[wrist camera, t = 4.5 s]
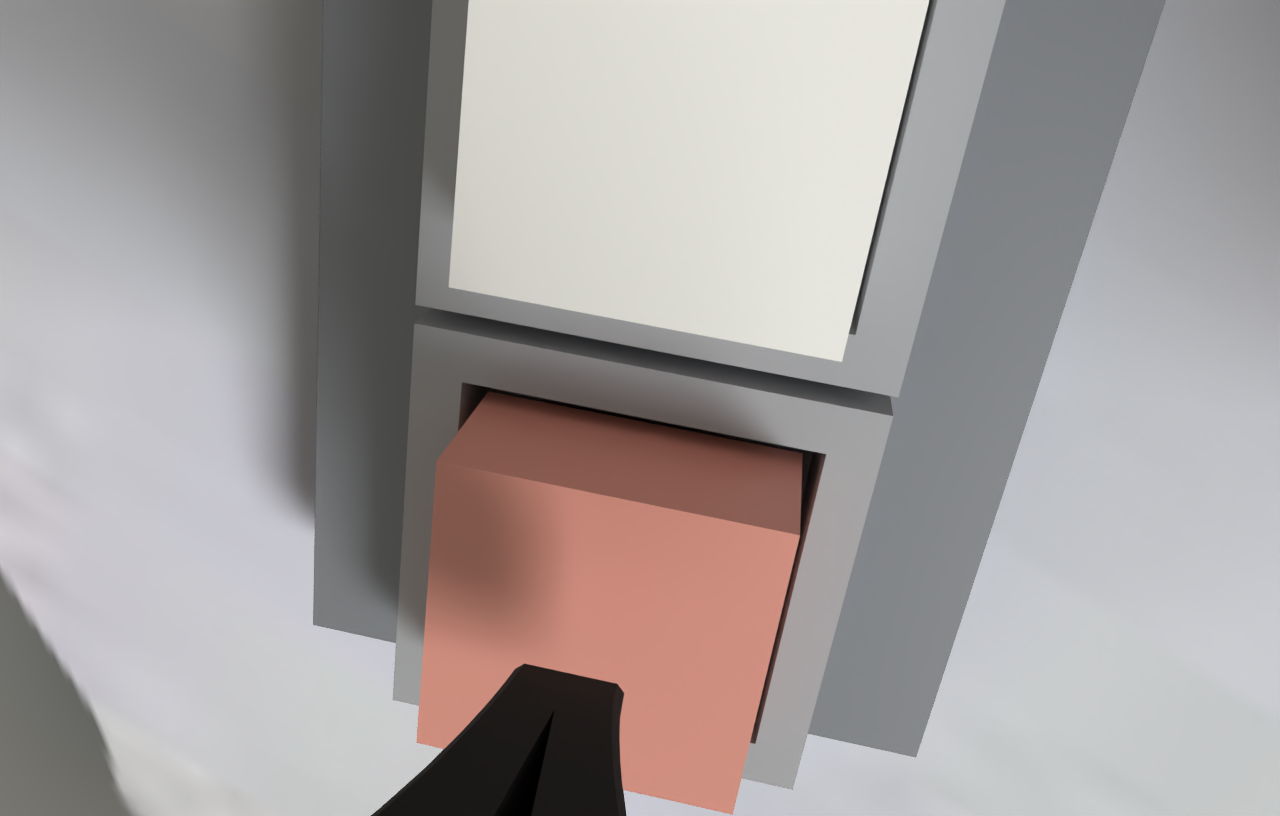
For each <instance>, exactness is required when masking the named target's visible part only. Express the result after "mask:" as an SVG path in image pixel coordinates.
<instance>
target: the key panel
mask: <svg viewBox="0 0 1280 816" xmlns="http://www.w3.org/2000/svg"><path fill="white" fill-rule="evenodd" d="M468 3H469V0H323V48H322V110H321V172H320V235H319V297H318V359H317V422H316V484H315V546H314V609H313V625H317V626H321V627H326V628H330V629H335V630H339V631H344V632H349V633H353V634H358V635H362V636H367V637H371V638H376V639H380V640H385V641H389V642H394V643H396V654H395V671H394V689H393V700H396V701H400V702H405V703H409V704H414V705H418V706H419V701H420V687H421V673H422V659H423V644H424V630H425V616H426V602H427V587H428V573H429V559H430V545H431V530H432V516H433V502H434V488H435V473H436V461H437V460H438V458H439V457H440V456H441V454H442V453H443V451H444V450H445V449H446V447H447V446H448V445H449V443H450V442H451V441H452V439H453V438H454V437H455V435H456V434H457V433H458V431H459V430H460V429H461V427H462V426H463V425H464V423H465V422H466V421H467V419H468V418H469V417H470V415H471V414H472V413H473V411H474V410H475V409H476V407H477V406H478V405H479V403H480V402H481V401H482V399H483V398H484V397H485V395H486V394H487V393H488V391H490V392H495V393H500V394H505V395H510V396H515V397H520V398H525V399H530V400H535V401H540V402H545V403H550V404H555V405H560V406H565V407H570V408H576V409H581V410H586V411H591V412H596V413H601V414H606V415H611V416H616V417H621V418H626V419H631V420H636V421H641V422H646V423H651V424H656V425H661V426H666V427H672V428H677V429H682V430H687V431H692V432H697V433H702V434H707V435H712V436H717V437H722V438H727V439H732V440H737V441H742V442H747V443H752V444H757V445H762V446H768V447H773V448H778V449H783V450H788V451H793V452H798V453H803V458H802V489H801V521H800V538H799V542H798V546H797V550H796V554H795V558H794V562H793V567H792V571H791V575H790V579H789V583H788V587H787V591H786V595H785V600H784V604H783V608H782V612H781V616H780V620H779V624H778V629H777V633H776V637H775V641H774V645H773V649H772V653H771V658H770V662H769V666H768V670H767V674H766V678H765V682H764V687H763V691H762V695H761V699H760V703H759V707H758V711H757V715H756V720H755V724H754V728H753V732H752V736H751V740H750V744H749V749H748V753H747V757H746V761H745V765H744V769H743V773H742V778H743V779H748V780H752V781H756V782H761V783H765V784H770V785H774V786H779V787H783V788H788V789H792V790H793V786H794V782H795V779H796V775H797V771H798V768H799V764H800V760H801V756H802V753H803V749H804V745H805V742H806V738H807V734H812V735H817V736H821V737H826V738H831V739H835V740H840V741H844V742H849V743H853V744H858V745H862V746H867V747H871V748H876V749H881V750H885V751H890V752H894V753H899V754H903V755H908V756H912V757H916V756H917V752H918V749H919V746H920V743H921V740H922V737H923V734H924V731H925V728H926V725H927V722H928V719H929V716H930V713H931V710H932V707H933V704H934V701H935V698H936V695H937V692H938V689H939V686H940V683H941V680H942V677H943V674H944V671H945V668H946V665H947V661H948V658H949V655H950V652H951V649H952V646H953V643H954V640H955V637H956V634H957V631H958V628H959V625H960V622H961V619H962V616H963V613H964V610H965V607H966V604H967V601H968V598H969V595H970V592H971V589H972V586H973V583H974V580H975V577H976V573H977V570H978V567H979V564H980V561H981V558H982V555H983V552H984V549H985V546H986V543H987V540H988V537H989V534H990V531H991V528H992V525H993V522H994V519H995V516H996V513H997V510H998V507H999V504H1000V501H1001V498H1002V495H1003V492H1004V489H1005V486H1006V482H1007V479H1008V476H1009V473H1010V470H1011V467H1012V464H1013V461H1014V458H1015V455H1016V452H1017V449H1018V446H1019V443H1020V440H1021V437H1022V434H1023V431H1024V428H1025V425H1026V422H1027V419H1028V416H1029V413H1030V410H1031V407H1032V404H1033V401H1034V398H1035V395H1036V391H1037V388H1038V385H1039V382H1040V379H1041V376H1042V373H1043V370H1044V367H1045V364H1046V361H1047V358H1048V355H1049V352H1050V349H1051V346H1052V343H1053V340H1054V337H1055V334H1056V331H1057V328H1058V325H1059V322H1060V319H1061V316H1062V313H1063V310H1064V307H1065V303H1066V300H1067V297H1068V294H1069V291H1070V288H1071V285H1072V282H1073V279H1074V276H1075V273H1076V270H1077V267H1078V264H1079V261H1080V258H1081V255H1082V252H1083V249H1084V246H1085V243H1086V240H1087V237H1088V234H1089V231H1090V228H1091V225H1092V222H1093V219H1094V216H1095V212H1096V209H1097V206H1098V203H1099V200H1100V197H1101V194H1102V191H1103V188H1104V185H1105V182H1106V179H1107V176H1108V173H1109V170H1110V167H1111V164H1112V161H1113V158H1114V155H1115V152H1116V149H1117V146H1118V143H1119V140H1120V137H1121V134H1122V131H1123V128H1124V125H1125V121H1126V118H1127V115H1128V112H1129V109H1130V106H1131V103H1132V100H1133V97H1134V94H1135V91H1136V88H1137V85H1138V82H1139V79H1140V76H1141V73H1142V70H1143V67H1144V64H1145V61H1146V58H1147V55H1148V52H1149V49H1150V46H1151V43H1152V40H1153V37H1154V33H1155V30H1156V27H1157V24H1158V21H1159V18H1160V15H1161V12H1162V9H1163V6H1164V3H1165V0H929V4H928V8H927V12H926V16H925V20H924V25H923V29H922V33H921V37H920V41H919V45H918V49H917V54H916V58H915V62H914V66H913V70H912V74H911V78H910V83H909V87H908V91H907V95H906V99H905V103H904V107H903V111H902V116H901V120H900V124H899V128H898V132H897V136H896V140H895V145H894V149H893V153H892V157H891V161H890V165H889V169H888V174H887V178H886V182H885V186H884V190H883V194H882V198H881V202H880V207H879V211H878V215H877V219H876V223H875V227H874V231H873V236H872V240H871V244H870V248H869V252H868V256H867V260H866V265H865V269H864V273H863V277H862V281H861V285H860V289H859V293H858V298H857V302H856V306H855V310H854V314H853V318H852V322H851V327H850V331H849V335H848V339H847V343H846V347H845V351H844V356H843V360H842V362H839V361H834V360H829V359H823V358H818V357H813V356H807V355H802V354H797V353H792V352H786V351H781V350H776V349H771V348H765V347H760V346H755V345H750V344H744V343H739V342H734V341H729V340H723V339H718V338H713V337H708V336H702V335H697V334H692V333H686V332H681V331H676V330H671V329H665V328H660V327H655V326H650V325H644V324H639V323H634V322H629V321H623V320H618V319H613V318H608V317H602V316H597V315H592V314H587V313H581V312H576V311H571V310H565V309H560V308H555V307H550V306H544V305H539V304H534V303H529V302H523V301H518V300H513V299H508V298H502V297H497V296H492V295H487V294H481V293H476V292H471V291H466V290H460V289H455V288H450V287H449V274H450V260H451V246H452V231H453V217H454V203H455V189H456V174H457V160H458V146H459V132H460V117H461V103H462V89H463V75H464V60H465V46H466V32H467V18H468Z"/></svg>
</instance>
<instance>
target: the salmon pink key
mask: <svg viewBox="0 0 1280 816" xmlns="http://www.w3.org/2000/svg"><path fill="white" fill-rule="evenodd" d="M802 458H803V453H798V452H793V451H788V450H783V449H778V448H773V447H768V446H762V445H757V444H752V443H747V442H742V441H737V440H732V439H727V438H722V437H717V436H712V435H707V434H702V433H697V432H692V431H687V430H682V429H677V428H672V427H666V426H661V425H656V424H651V423H646V422H641V421H636V420H631V419H626V418H621V417H616V416H611V415H606V414H601V413H596V412H591V411H586V410H581V409H576V408H570V407H565V406H560V405H555V404H550V403H545V402H540V401H535V400H530V399H525V398H520V397H515V396H510V395H505V394H500V393H495V392H490V391H488V393H487V394H486V395H485V397H484V398H483V399H482V401H481V402H480V403H479V405H478V406H477V407H476V409H475V410H474V411H473V413H472V414H471V415H470V417H469V418H468V419H467V421H466V422H465V423H464V425H463V426H462V427H461V429H460V430H459V431H458V433H457V434H456V435H455V437H454V438H453V439H452V441H451V442H450V443H449V445H448V446H447V447H446V449H445V450H444V451H443V453H442V454H441V456H440V457H439V458H438V460H437V461H436V473H435V488H434V502H433V516H432V530H431V545H430V559H429V573H428V587H427V602H426V616H425V630H424V644H423V659H422V673H421V687H420V701H419V716H418V730H417V743H421V744H425V745H430V746H434V747H438V748H443V749H445V748H446V747H447V746H448V745H449V744H450V743H451V742H452V741H453V740H454V739H455V738H456V737H457V736H458V735H459V734H460V733H461V732H462V731H463V730H464V729H465V727H466V726H467V725H468V724H469V723H470V722H471V721H472V720H473V719H474V718H475V717H476V715H477V714H478V713H479V712H480V711H481V710H482V709H483V708H484V707H485V705H486V704H487V703H488V702H489V701H490V700H491V699H492V697H493V696H494V695H495V694H496V693H497V691H498V690H499V689H500V688H501V686H502V685H503V684H504V683H505V681H506V680H507V679H508V678H509V676H510V675H511V674H512V672H513V671H514V670H515V669H516V668H517V667H519V666H521V665H523V664H529V665H534V666H538V667H543V668H547V669H552V670H557V671H561V672H566V673H570V674H575V675H579V676H584V677H589V678H593V679H598V680H602V681H607V682H612V683H616V684H618V685H619V687H620V688H621V689H622V691H623V692H624V698H623V704H622V710H621V716H620V764H621V776H622V786H623V790H627V791H632V792H636V793H640V794H645V795H649V796H654V797H658V798H662V799H667V800H671V801H676V802H680V803H684V804H689V805H693V806H698V807H702V808H706V809H711V810H715V811H719V812H724V813H728V814H733V811H734V806H735V802H736V798H737V794H738V790H739V786H740V782H741V778H742V773H743V769H744V765H745V761H746V757H747V753H748V749H749V744H750V740H751V736H752V732H753V728H754V724H755V720H756V715H757V711H758V707H759V703H760V699H761V695H762V691H763V687H764V682H765V678H766V674H767V670H768V666H769V662H770V658H771V653H772V649H773V645H774V641H775V637H776V633H777V629H778V624H779V620H780V616H781V612H782V608H783V604H784V600H785V595H786V591H787V587H788V583H789V579H790V575H791V571H792V567H793V562H794V558H795V554H796V550H797V546H798V542H799V538H800V521H801V489H802Z"/></svg>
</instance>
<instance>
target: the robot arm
mask: <svg viewBox="0 0 1280 816" xmlns="http://www.w3.org/2000/svg"><path fill="white" fill-rule="evenodd" d="M623 698H624V692H623V691H622V689H621V688H620V687H619V685H618V684H616V683H612V682H607V681H602V680H598V679H593V678H589V677H584V676H579V675H575V674H570V673H566V672H561V671H557V670H552V669H547V668H543V667H538V666H534V665H529V664H523V665H521V666H519V667H517V668H516V669H515V670H514V671H513V672H512V674H511V675H510V676H509V678H508V679H507V680H506V681H505V683H504V684H503V685H502V686H501V688H500V689H499V690H498V691H497V693H496V694H495V695H494V696H493V697H492V699H491V700H490V701H489V702H488V703H487V704H486V705H485V707H484V708H483V709H482V710H481V711H480V712H479V713H478V714H477V715H476V717H475V718H474V719H473V720H472V721H471V722H470V723H469V724H468V725H467V726H466V727H465V729H464V730H463V731H462V732H461V733H460V734H459V735H458V736H457V737H456V738H455V739H454V740H453V741H452V742H451V743H450V744H449V745H448V746H447V747H446V748H445V749H444V750H443V751H442V752H441V753H440V754H439V755H438V756H437V757H436V758H435V759H434V760H433V761H432V762H431V763H430V764H429V765H428V766H427V767H426V768H425V769H423V770H422V771H421V772H420V773H419V774H418V775H417V776H416V777H415V778H413V779H412V780H411V781H410V782H409V783H408V784H407V785H406V786H405V787H403V788H402V789H401V790H400V791H399V792H398V793H397V794H396V795H394V796H393V797H392V798H391V799H390V800H389V801H388V802H387V803H385V804H384V805H383V806H382V807H381V808H380V809H379V810H377V811H376V812H375V813H374V814H372V815H371V816H626V809H625V801H624V793H623V786H622V776H621V764H620V716H621V710H622V704H623Z"/></svg>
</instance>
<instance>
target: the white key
mask: <svg viewBox="0 0 1280 816" xmlns="http://www.w3.org/2000/svg"><path fill="white" fill-rule="evenodd" d="M928 4H929V0H469V3H468V18H467V32H466V46H465V60H464V75H463V89H462V103H461V117H460V132H459V146H458V160H457V174H456V189H455V203H454V217H453V231H452V246H451V260H450V274H449V287H450V288H455V289H460V290H466V291H471V292H476V293H481V294H487V295H492V296H497V297H502V298H508V299H513V300H518V301H523V302H529V303H534V304H539V305H544V306H550V307H555V308H560V309H565V310H571V311H576V312H581V313H587V314H592V315H597V316H602V317H608V318H613V319H618V320H623V321H629V322H634V323H639V324H644V325H650V326H655V327H660V328H665V329H671V330H676V331H681V332H686V333H692V334H697V335H702V336H708V337H713V338H718V339H723V340H729V341H734V342H739V343H744V344H750V345H755V346H760V347H765V348H771V349H776V350H781V351H786V352H792V353H797V354H802V355H807V356H813V357H818V358H823V359H829V360H834V361H839V362H842V360H843V356H844V351H845V347H846V343H847V339H848V335H849V331H850V327H851V322H852V318H853V314H854V310H855V306H856V302H857V298H858V293H859V289H860V285H861V281H862V277H863V273H864V269H865V265H866V260H867V256H868V252H869V248H870V244H871V240H872V236H873V231H874V227H875V223H876V219H877V215H878V211H879V207H880V202H881V198H882V194H883V190H884V186H885V182H886V178H887V174H888V169H889V165H890V161H891V157H892V153H893V149H894V145H895V140H896V136H897V132H898V128H899V124H900V120H901V116H902V111H903V107H904V103H905V99H906V95H907V91H908V87H909V83H910V78H911V74H912V70H913V66H914V62H915V58H916V54H917V49H918V45H919V41H920V37H921V33H922V29H923V25H924V20H925V16H926V12H927V8H928Z"/></svg>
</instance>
